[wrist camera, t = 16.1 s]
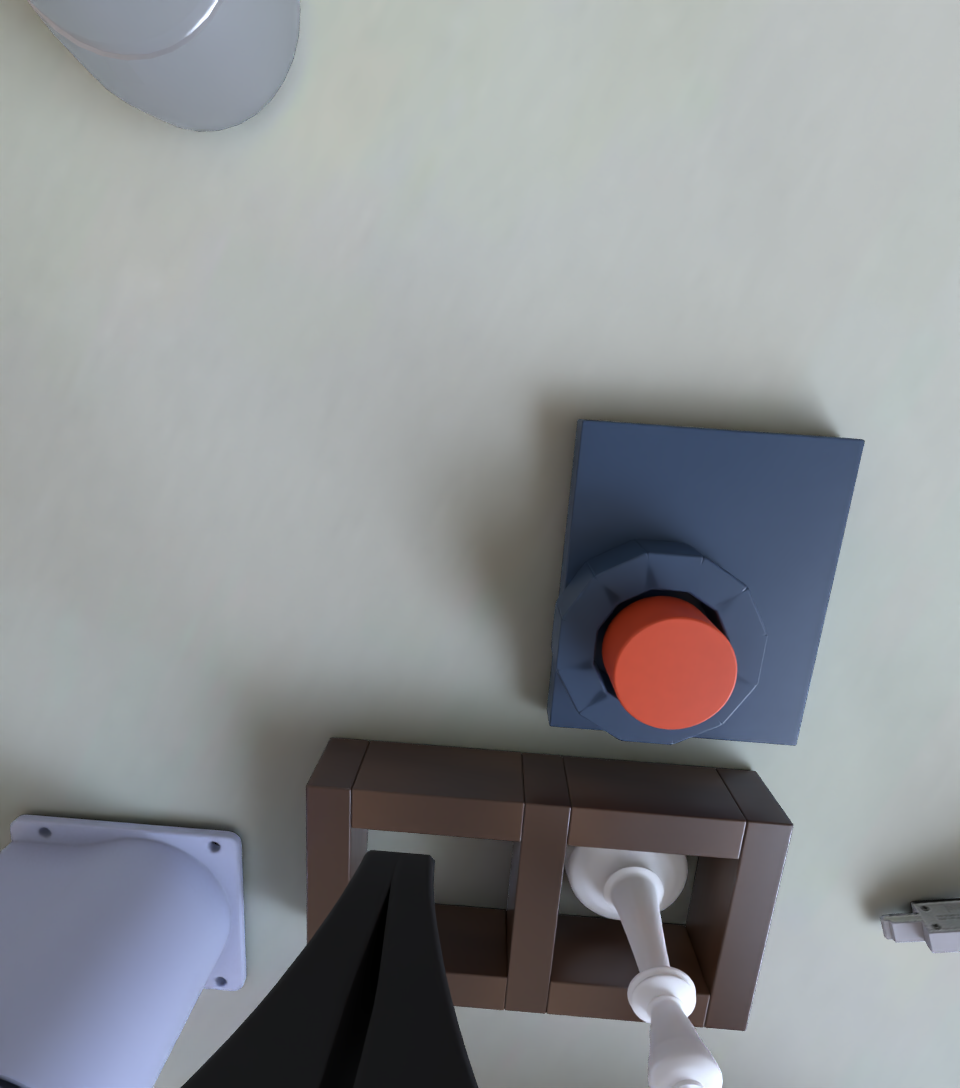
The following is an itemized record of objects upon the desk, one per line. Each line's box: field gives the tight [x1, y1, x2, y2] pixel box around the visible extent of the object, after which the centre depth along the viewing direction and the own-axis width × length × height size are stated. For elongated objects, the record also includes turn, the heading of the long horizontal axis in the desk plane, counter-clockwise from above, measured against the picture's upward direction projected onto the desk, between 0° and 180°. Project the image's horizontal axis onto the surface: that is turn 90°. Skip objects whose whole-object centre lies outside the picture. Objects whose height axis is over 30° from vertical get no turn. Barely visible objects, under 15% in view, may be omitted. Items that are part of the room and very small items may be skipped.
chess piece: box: [564, 845, 723, 1088], centre depth 19 cm, size 5×5×10 cm
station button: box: [602, 596, 737, 729], centre depth 17 cm, size 4×4×2 cm
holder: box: [306, 738, 793, 1031], centre depth 22 cm, size 17×9×3 cm, turn 86°
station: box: [547, 419, 865, 745], centre depth 19 cm, size 9×11×3 cm
